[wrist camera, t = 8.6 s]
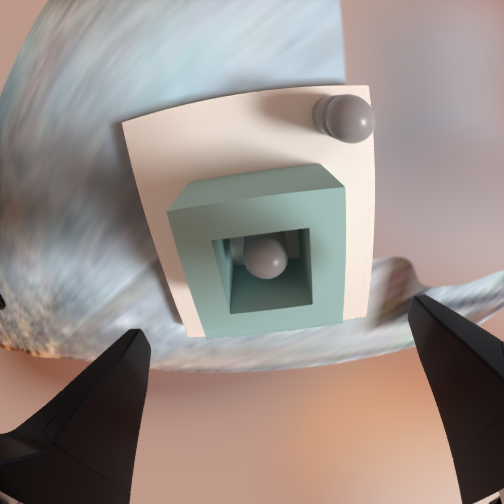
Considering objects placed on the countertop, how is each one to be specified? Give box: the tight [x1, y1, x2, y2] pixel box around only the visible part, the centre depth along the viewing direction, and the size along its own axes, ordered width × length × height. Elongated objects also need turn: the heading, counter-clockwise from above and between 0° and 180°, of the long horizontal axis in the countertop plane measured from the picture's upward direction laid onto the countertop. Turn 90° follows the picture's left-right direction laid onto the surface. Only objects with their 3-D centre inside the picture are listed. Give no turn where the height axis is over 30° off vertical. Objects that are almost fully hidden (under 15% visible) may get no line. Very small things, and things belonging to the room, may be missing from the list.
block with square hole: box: [166, 164, 346, 339], centre depth 13 cm, size 6×6×4 cm
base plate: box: [122, 85, 375, 337], centre depth 14 cm, size 12×14×5 cm
